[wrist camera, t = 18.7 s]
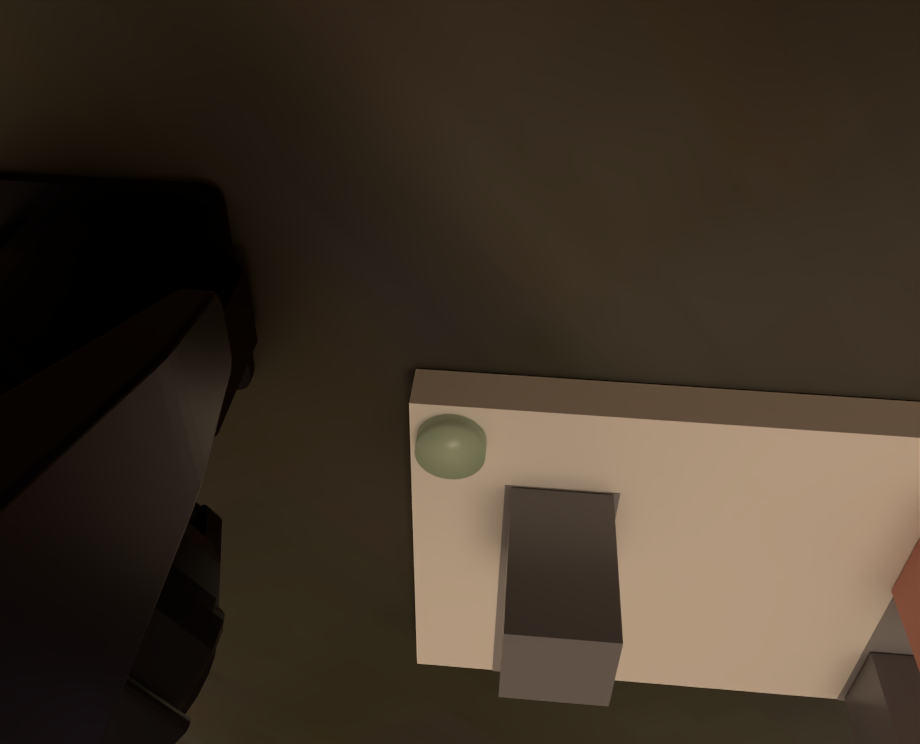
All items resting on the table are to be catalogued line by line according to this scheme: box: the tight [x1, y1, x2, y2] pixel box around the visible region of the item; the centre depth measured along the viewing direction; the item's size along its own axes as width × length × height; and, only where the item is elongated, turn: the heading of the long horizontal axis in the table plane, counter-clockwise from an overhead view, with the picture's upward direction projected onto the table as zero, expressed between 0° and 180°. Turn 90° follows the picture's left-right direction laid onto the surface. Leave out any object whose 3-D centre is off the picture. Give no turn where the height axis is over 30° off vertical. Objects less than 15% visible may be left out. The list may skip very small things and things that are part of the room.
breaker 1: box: [499, 488, 623, 706], centre depth 25 cm, size 3×3×5 cm
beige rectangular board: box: [409, 369, 920, 701], centre depth 28 cm, size 22×13×2 cm, turn 89°
